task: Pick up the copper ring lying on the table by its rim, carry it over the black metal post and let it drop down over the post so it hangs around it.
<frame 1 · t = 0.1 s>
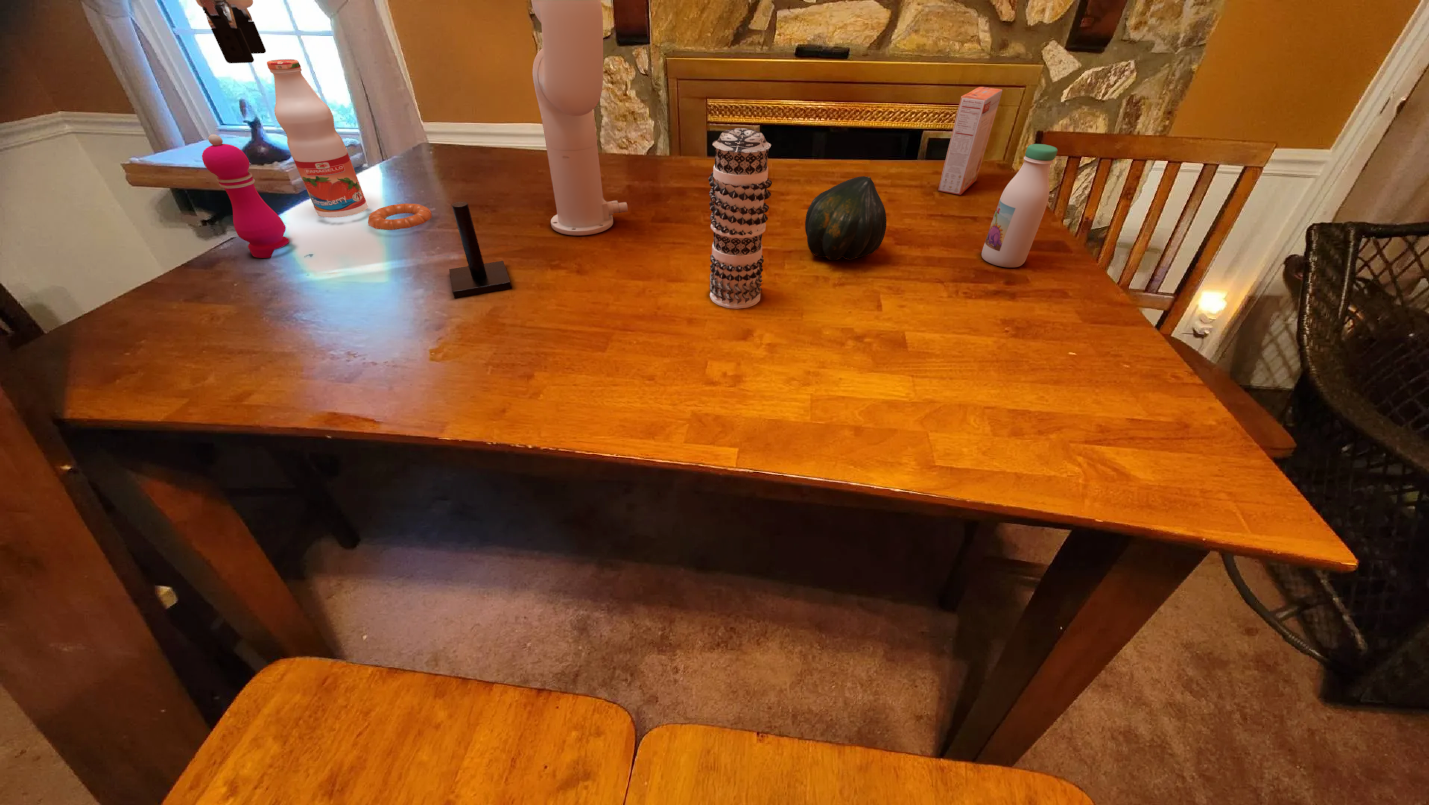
hand: (248, 57, 81), 31 cm above the table, tool pointing down, fingers open, 9 cm apart
pepper mill: (273, 252, 102), on the table
cracker box: (956, 187, 138), on the table
ring: (400, 218, 112), point 1 cm above the table
squash: (839, 254, 106), on the table
milk bottle: (1001, 260, 104), on the table
decorative candle: (735, 297, 92), on the table
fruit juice: (345, 216, 116), on the table
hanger: (480, 281, 94), on the table
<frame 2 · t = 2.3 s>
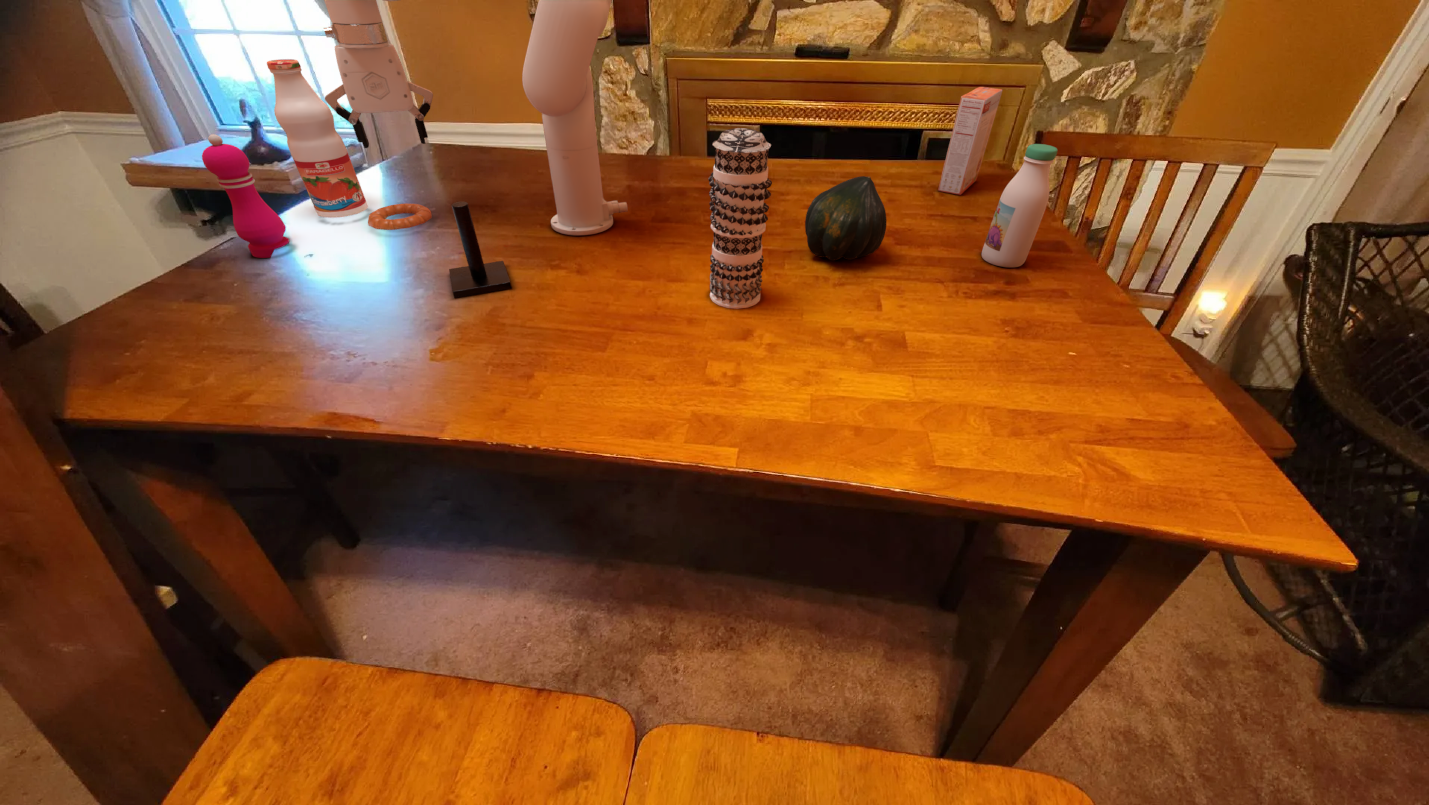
hand: (395, 144, 104), 15 cm above the table, tool pointing down, fingers open, 9 cm apart
nothing on the table moved.
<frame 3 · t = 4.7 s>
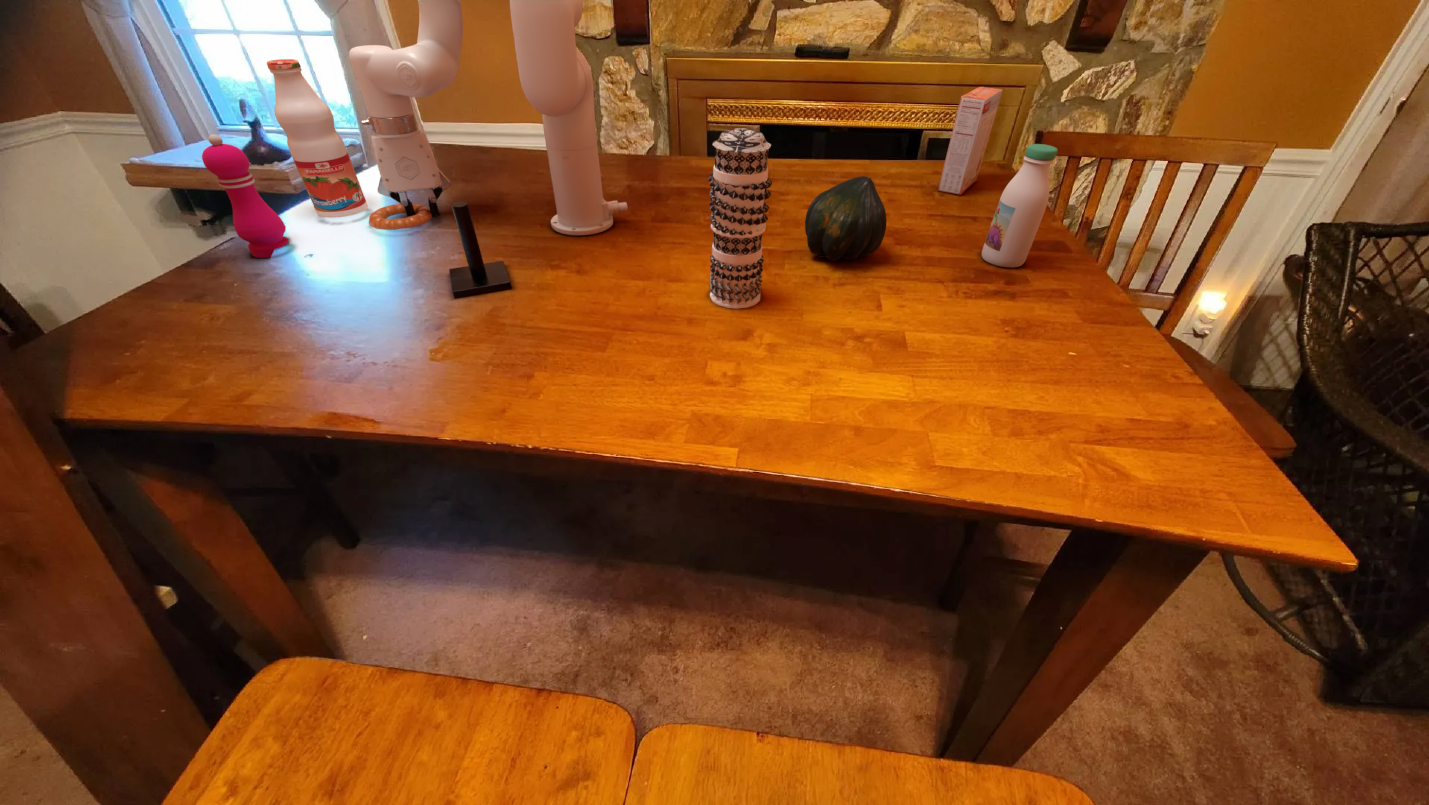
hand: (425, 220, 114), 0 cm above the table, tool pointing down, fingers closed on ring, 3 cm apart
ring: (401, 218, 112), point 1 cm above the table, touching gripper
everything else where it was.
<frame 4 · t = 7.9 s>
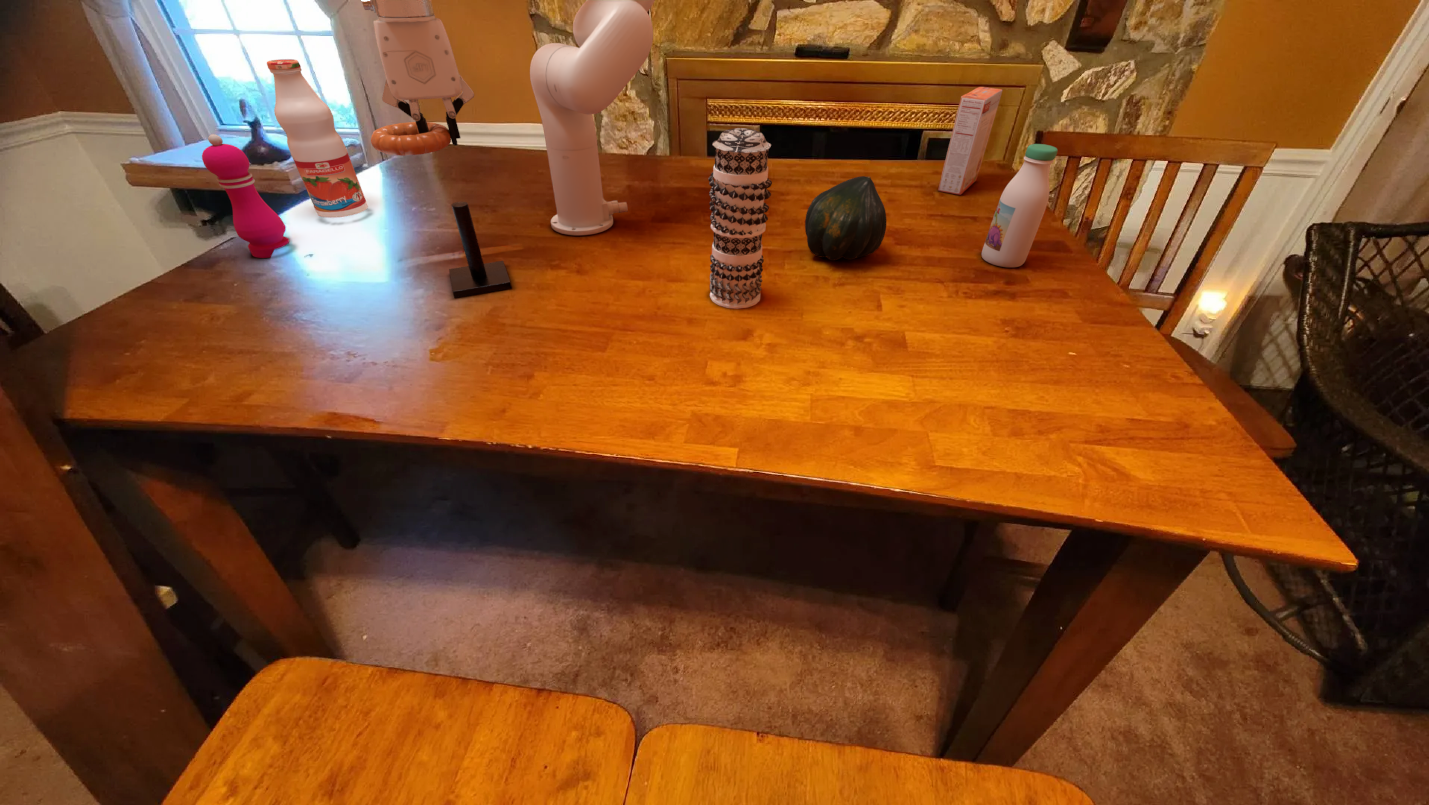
hand: (442, 143, 91), 19 cm above the table, tool pointing down, fingers closed on ring, 3 cm apart
ring: (412, 138, 89), point 20 cm above the table, touching gripper
everything else where it was.
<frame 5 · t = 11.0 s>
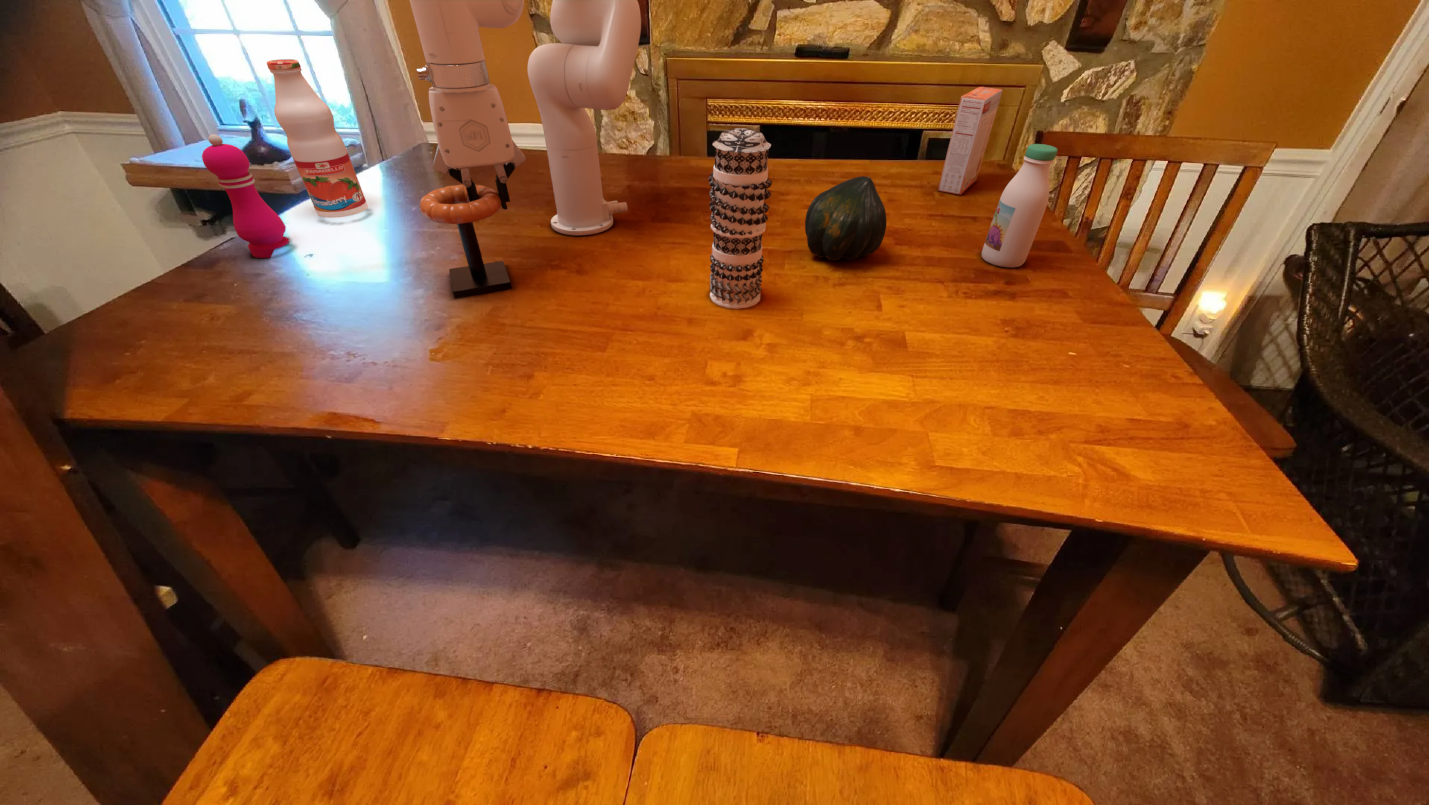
hand: (491, 207, 88), 12 cm above the table, tool pointing down, fingers closed on ring, 3 cm apart
ring: (461, 203, 86), point 13 cm above the table, touching gripper
everything else where it was.
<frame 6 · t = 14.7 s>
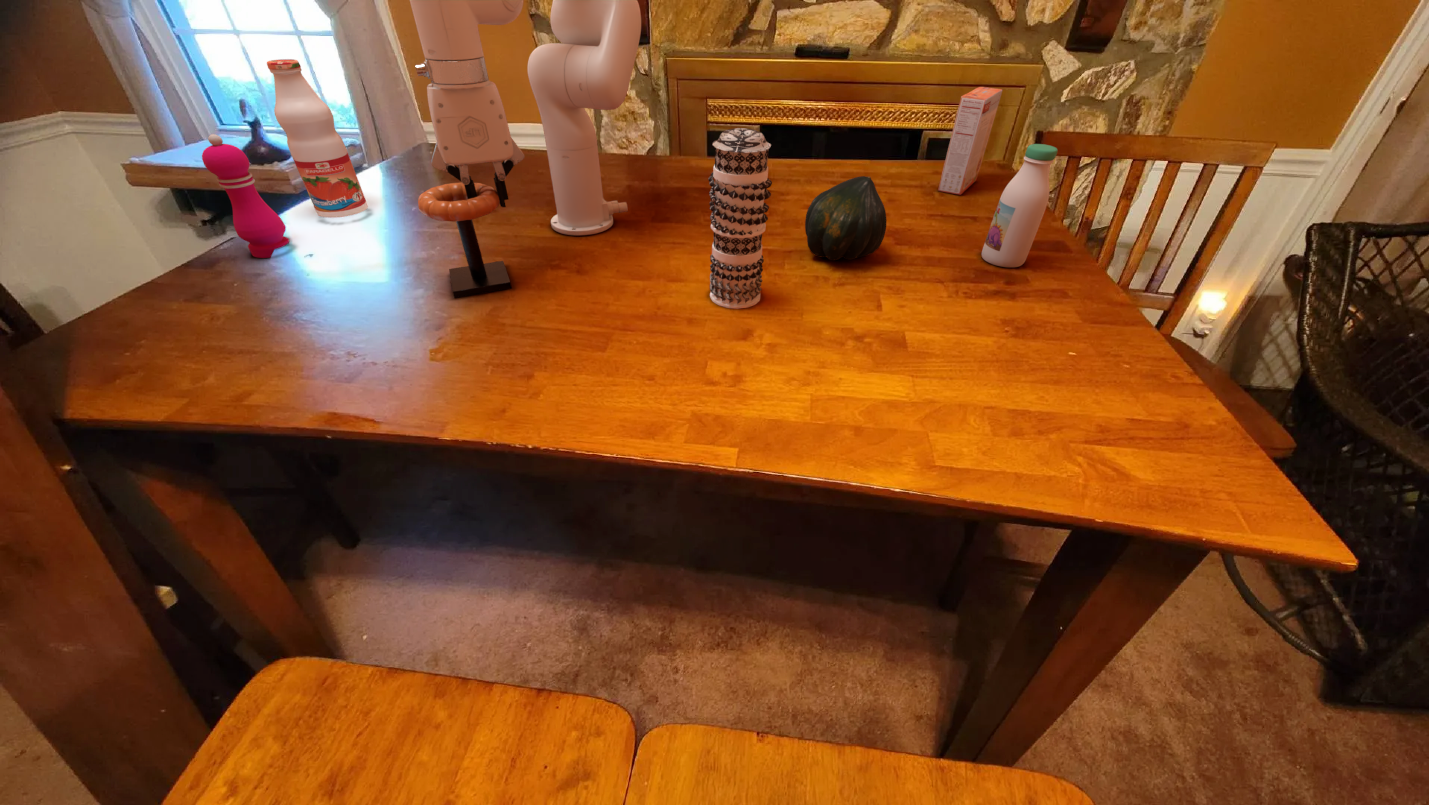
hand: (489, 205, 88), 13 cm above the table, tool pointing down, fingers closed on ring, 3 cm apart
ring: (459, 201, 85), point 14 cm above the table, touching gripper
everything else where it was.
when the fingers open (14 cm above the table, at t = 17.9 s): ring drops 13 cm, resting on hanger.
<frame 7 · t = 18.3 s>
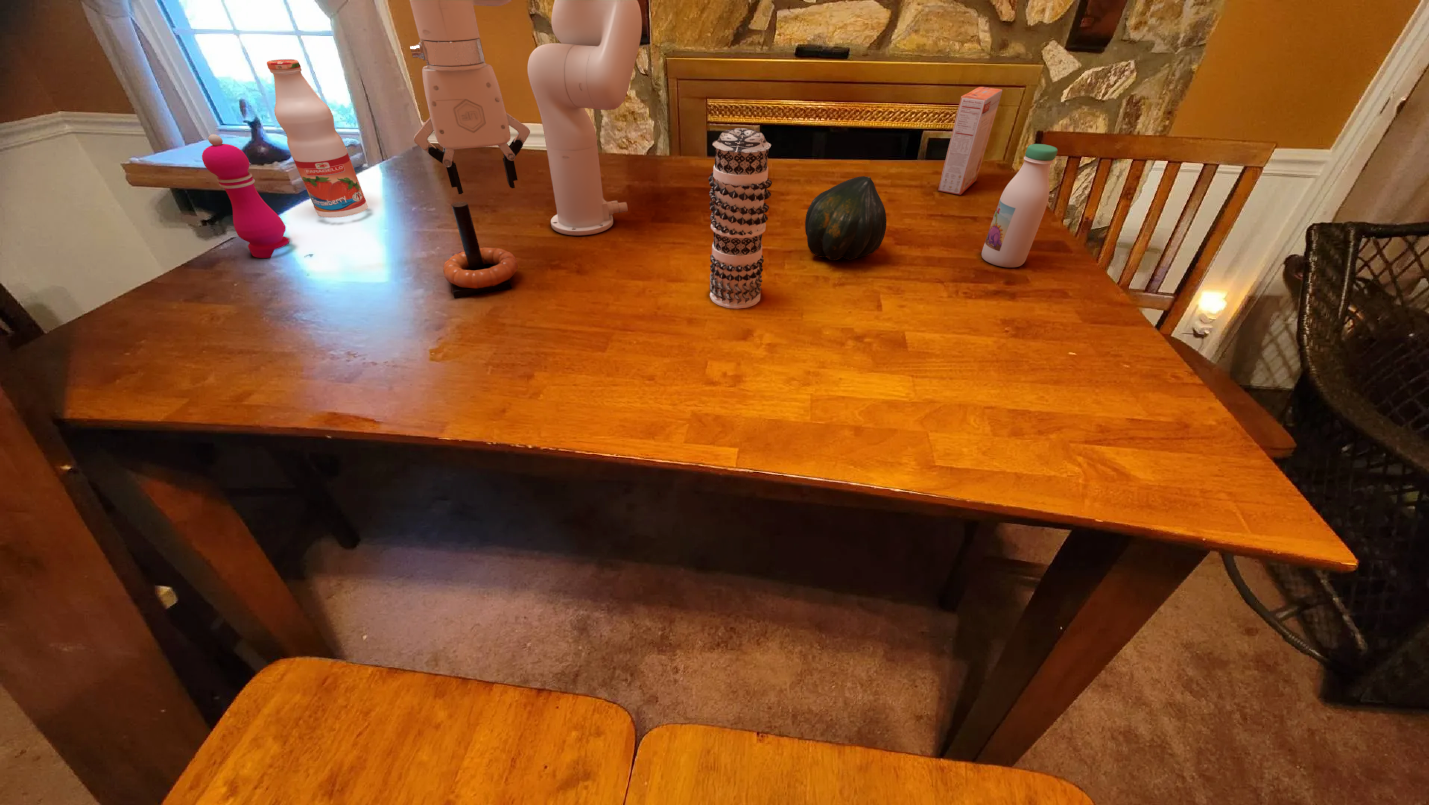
hand: (486, 187, 86), 15 cm above the table, tool pointing down, fingers open, 7 cm apart
ring: (481, 267, 93), point 3 cm above the table, touching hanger
everything else where it was.
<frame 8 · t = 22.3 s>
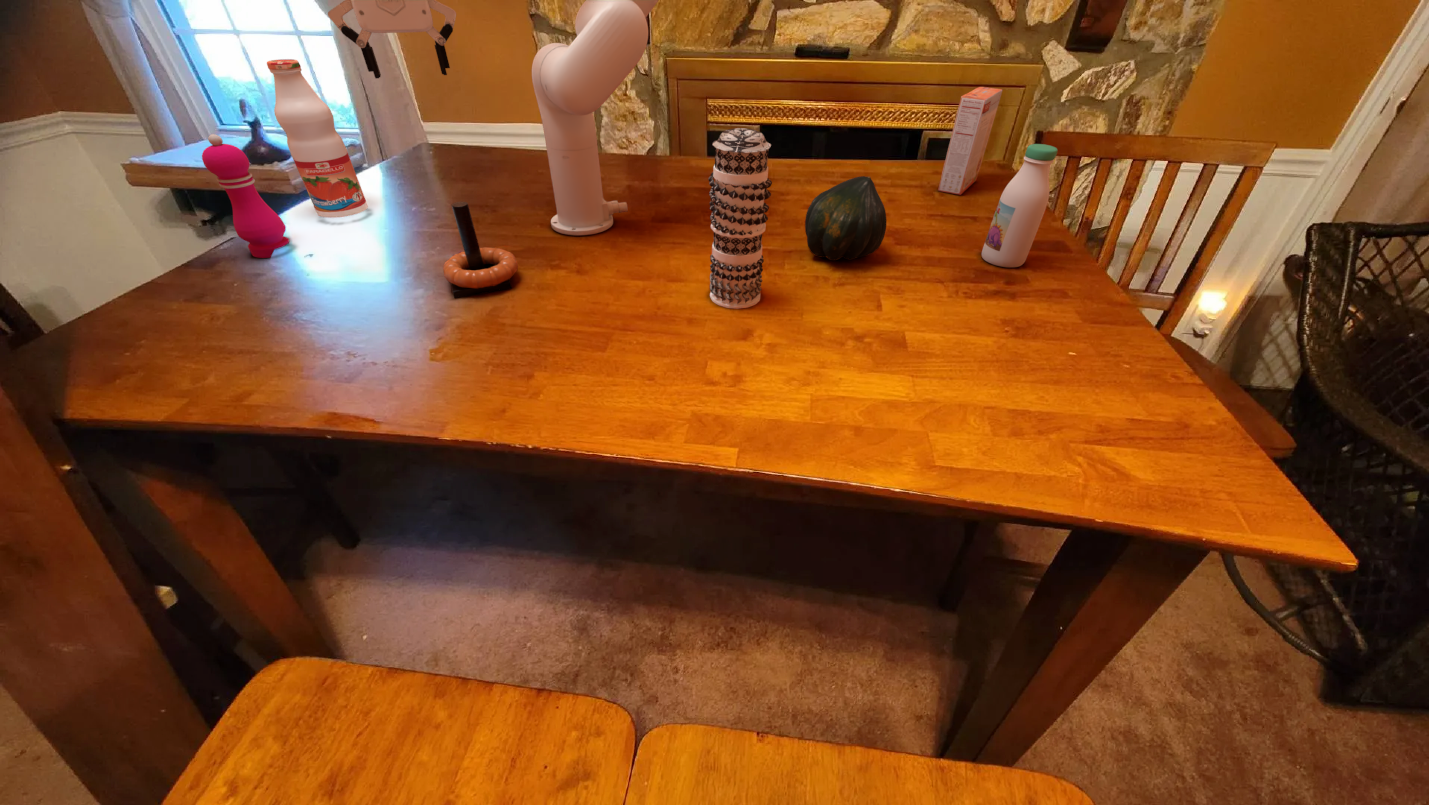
hand: (411, 75, 88), 28 cm above the table, tool pointing down, fingers open, 9 cm apart
nothing on the table moved.
at the end: ring 0.7 cm off-centre on the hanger, point 2.6 cm above the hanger's base; the gripper is holding nothing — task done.
